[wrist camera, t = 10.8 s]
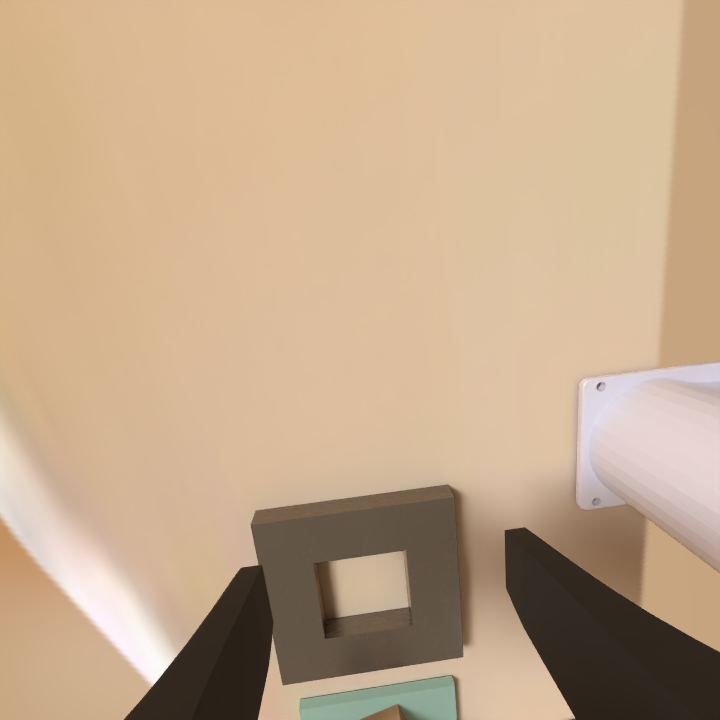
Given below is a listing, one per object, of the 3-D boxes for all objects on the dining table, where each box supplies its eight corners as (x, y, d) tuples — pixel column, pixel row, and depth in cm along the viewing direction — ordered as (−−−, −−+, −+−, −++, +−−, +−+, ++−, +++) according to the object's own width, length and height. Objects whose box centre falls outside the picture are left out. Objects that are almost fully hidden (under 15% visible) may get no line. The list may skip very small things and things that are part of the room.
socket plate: (447, 484, 21) (454, 497, 19) (456, 637, 23) (463, 656, 22) (255, 510, 20) (250, 525, 19) (285, 664, 22) (282, 685, 21)
